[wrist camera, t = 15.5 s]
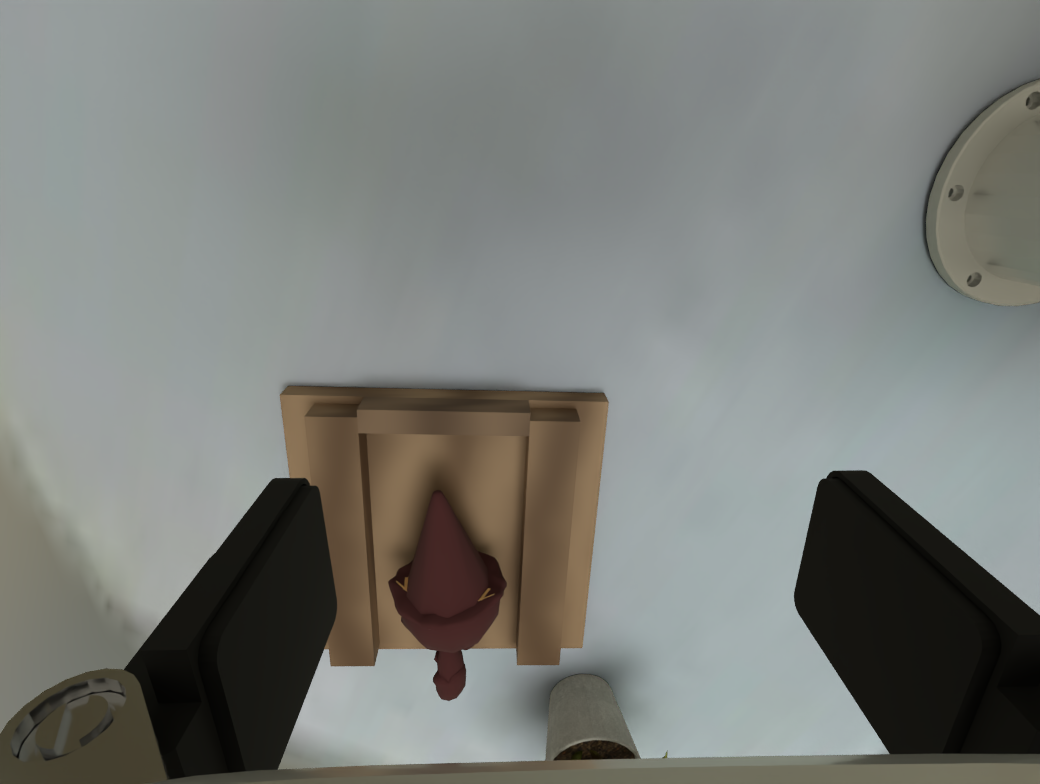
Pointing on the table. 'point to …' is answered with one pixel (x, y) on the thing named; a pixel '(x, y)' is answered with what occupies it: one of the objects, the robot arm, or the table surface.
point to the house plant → (586, 722)
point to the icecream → (447, 594)
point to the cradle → (453, 502)
